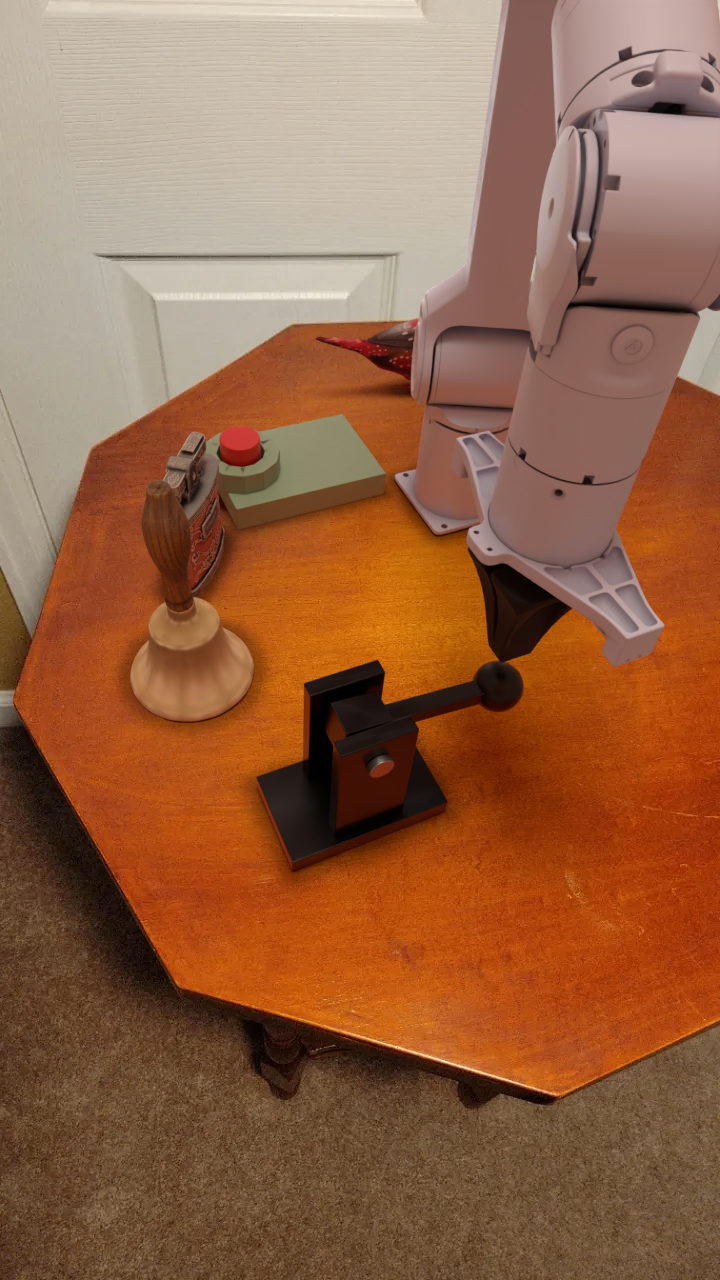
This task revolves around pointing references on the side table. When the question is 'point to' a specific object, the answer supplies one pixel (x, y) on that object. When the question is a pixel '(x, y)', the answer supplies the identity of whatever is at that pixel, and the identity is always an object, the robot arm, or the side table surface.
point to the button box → (299, 472)
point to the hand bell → (184, 629)
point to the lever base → (348, 777)
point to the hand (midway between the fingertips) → (509, 648)
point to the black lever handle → (427, 702)
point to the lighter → (198, 507)
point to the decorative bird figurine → (384, 348)
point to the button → (240, 446)
